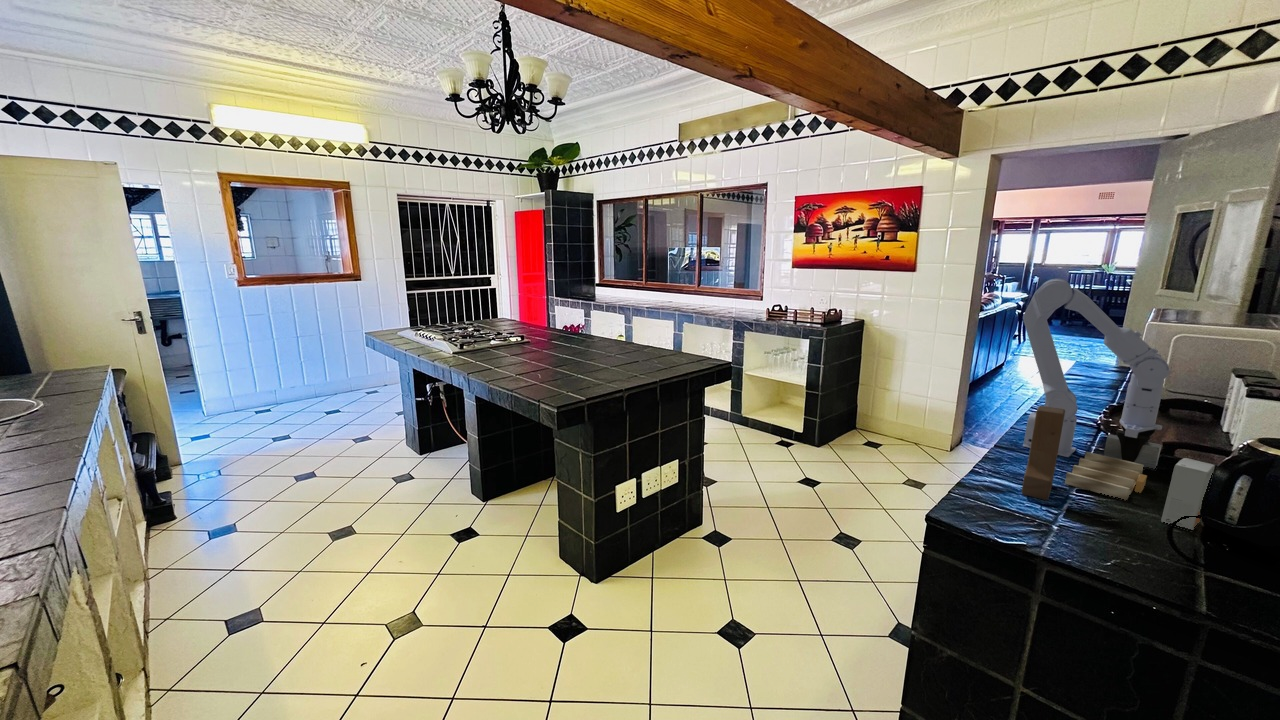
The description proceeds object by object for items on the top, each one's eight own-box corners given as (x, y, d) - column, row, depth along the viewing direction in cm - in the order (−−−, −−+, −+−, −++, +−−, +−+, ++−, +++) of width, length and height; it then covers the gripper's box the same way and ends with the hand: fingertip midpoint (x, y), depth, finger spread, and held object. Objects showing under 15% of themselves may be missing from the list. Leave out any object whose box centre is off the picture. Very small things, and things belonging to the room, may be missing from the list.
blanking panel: (1102, 459, 121) (1107, 437, 120) (1105, 456, 123) (1109, 434, 122) (1154, 472, 115) (1159, 448, 113) (1156, 468, 116) (1161, 444, 115)
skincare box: (1192, 532, 90) (1208, 472, 88) (1160, 522, 94) (1173, 464, 91) (1201, 522, 93) (1216, 464, 91) (1169, 513, 97) (1182, 456, 94)
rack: (1064, 483, 110) (1066, 472, 109) (1084, 461, 120) (1086, 451, 120) (1135, 503, 101) (1137, 491, 100) (1149, 477, 112) (1152, 466, 111)
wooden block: (1047, 501, 102) (1062, 419, 98) (1020, 494, 105) (1033, 415, 101) (1051, 486, 109) (1065, 408, 105) (1026, 480, 112) (1038, 404, 108)
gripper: (1161, 415, 108) (1148, 472, 111) (1170, 402, 117) (1158, 455, 120) (1117, 407, 114) (1106, 462, 117) (1129, 395, 122) (1118, 446, 125)
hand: (1130, 458), depth 119 cm, fingers open, 4 cm apart
